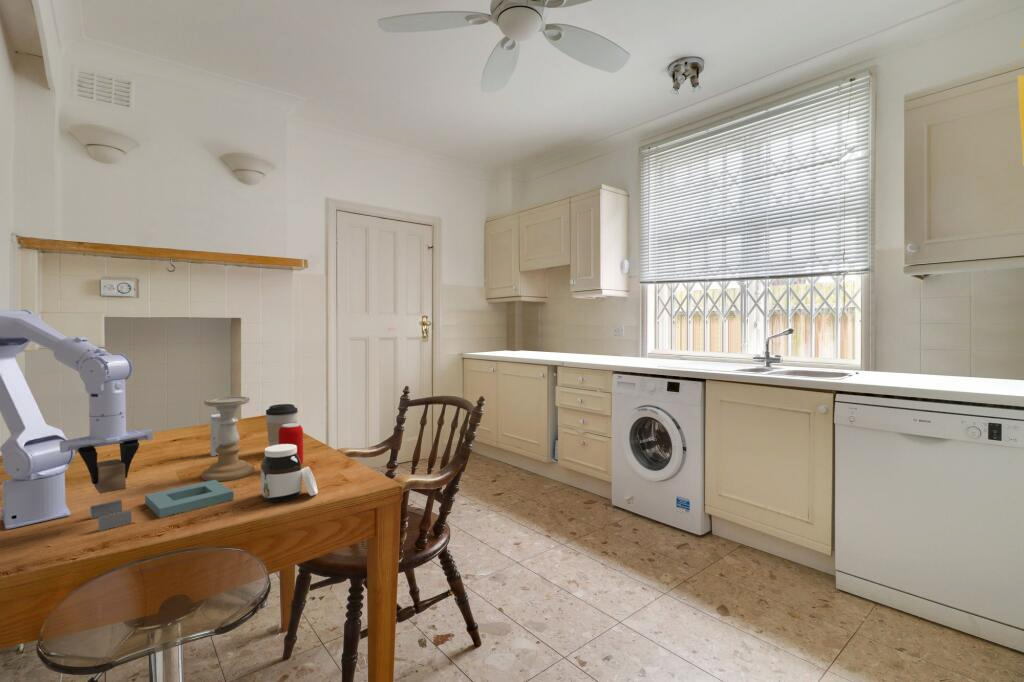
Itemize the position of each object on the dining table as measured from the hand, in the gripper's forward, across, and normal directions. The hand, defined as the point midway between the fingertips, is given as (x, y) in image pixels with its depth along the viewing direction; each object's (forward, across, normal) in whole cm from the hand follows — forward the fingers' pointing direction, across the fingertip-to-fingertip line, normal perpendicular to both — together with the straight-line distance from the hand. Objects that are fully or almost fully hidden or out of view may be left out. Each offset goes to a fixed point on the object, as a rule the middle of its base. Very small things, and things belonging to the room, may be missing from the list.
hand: (109, 480), depth 99 cm
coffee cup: (+9, +46, +26) cm, 54 cm away
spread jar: (+9, +31, -13) cm, 35 cm away
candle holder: (+9, +27, +15) cm, 32 cm away
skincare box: (+9, +33, +38) cm, 51 cm away
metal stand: (+8, 0, 0) cm, 8 cm away
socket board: (+8, +14, 0) cm, 16 cm away
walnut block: (+2, 0, 0) cm, 2 cm away
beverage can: (+9, +41, +9) cm, 43 cm away
